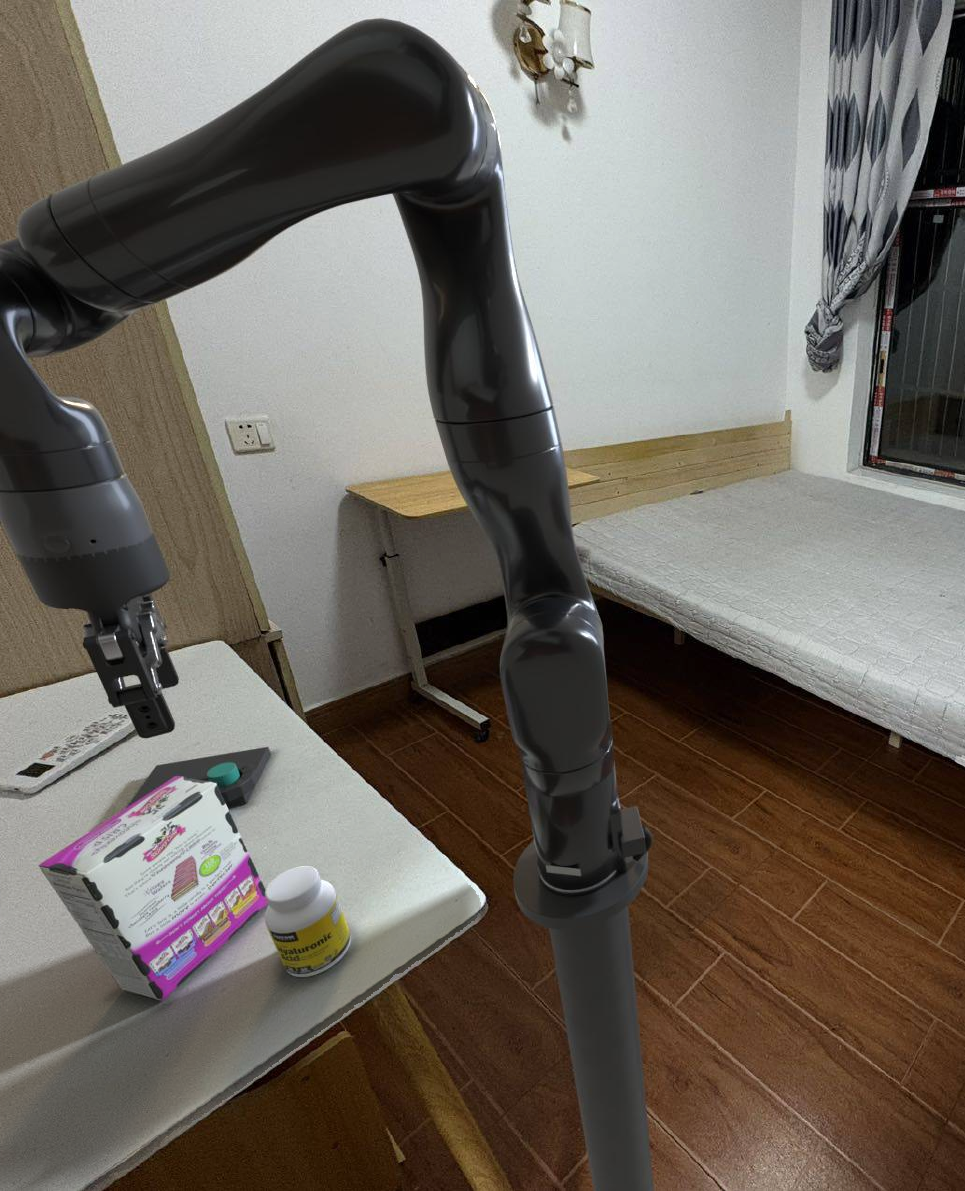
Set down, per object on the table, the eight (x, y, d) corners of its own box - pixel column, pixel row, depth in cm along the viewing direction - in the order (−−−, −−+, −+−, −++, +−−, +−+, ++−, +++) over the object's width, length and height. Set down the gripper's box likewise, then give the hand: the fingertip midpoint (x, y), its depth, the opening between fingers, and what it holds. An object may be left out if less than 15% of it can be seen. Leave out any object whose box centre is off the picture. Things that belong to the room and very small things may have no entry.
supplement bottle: (278, 987, 60) (245, 915, 56) (294, 938, 64) (264, 867, 60) (346, 968, 62) (319, 897, 58) (357, 921, 66) (332, 852, 62)
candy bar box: (232, 892, 69) (176, 772, 62) (273, 901, 68) (221, 780, 61) (115, 993, 59) (32, 863, 52) (161, 1004, 58) (83, 874, 51)
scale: (279, 753, 89) (272, 735, 88) (253, 807, 80) (245, 788, 79) (160, 773, 84) (151, 755, 83) (118, 832, 75) (108, 813, 74)
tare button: (243, 771, 82) (239, 760, 81) (235, 785, 79) (231, 774, 79) (216, 775, 81) (211, 764, 80) (207, 790, 78) (202, 779, 78)
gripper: (145, 556, 47) (217, 734, 54) (156, 505, 57) (216, 661, 64) (-10, 577, 43) (91, 769, 50) (32, 518, 53) (111, 685, 60)
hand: (161, 708), depth 57 cm, fingers open, 8 cm apart
